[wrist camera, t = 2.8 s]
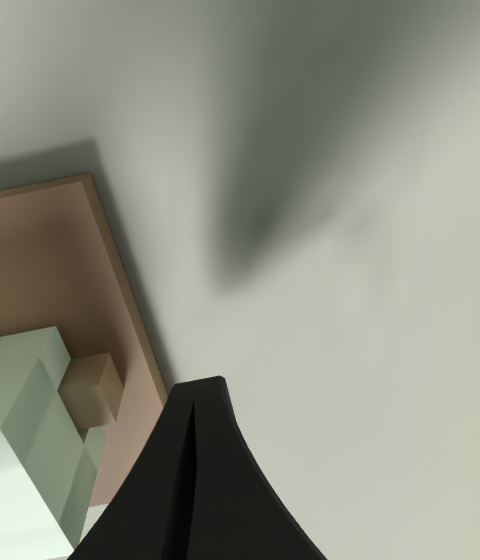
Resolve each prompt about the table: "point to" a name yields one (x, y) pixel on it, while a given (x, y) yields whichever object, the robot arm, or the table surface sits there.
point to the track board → (81, 315)
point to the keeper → (41, 451)
